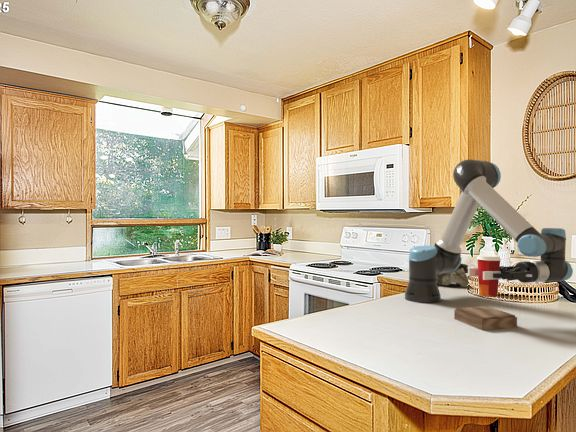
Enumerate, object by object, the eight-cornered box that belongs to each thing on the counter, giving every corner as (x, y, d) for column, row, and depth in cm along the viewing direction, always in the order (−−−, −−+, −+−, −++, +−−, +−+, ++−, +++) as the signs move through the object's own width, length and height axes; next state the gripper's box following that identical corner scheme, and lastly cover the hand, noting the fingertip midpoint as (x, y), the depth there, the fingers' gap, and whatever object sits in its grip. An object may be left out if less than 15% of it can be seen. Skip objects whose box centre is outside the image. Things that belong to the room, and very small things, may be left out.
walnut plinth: (482, 330, 131) (482, 318, 131) (454, 318, 145) (454, 307, 145) (516, 327, 135) (517, 315, 134) (486, 316, 148) (486, 305, 148)
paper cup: (500, 294, 140) (500, 254, 140) (501, 298, 133) (502, 257, 133) (475, 292, 143) (476, 253, 143) (475, 296, 136) (476, 255, 136)
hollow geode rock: (414, 292, 215) (413, 275, 205) (415, 273, 223) (414, 256, 214) (471, 294, 205) (472, 276, 195) (470, 274, 213) (471, 256, 203)
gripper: (554, 287, 133) (497, 290, 127) (509, 277, 152) (457, 279, 146) (555, 265, 133) (497, 267, 127) (509, 258, 152) (457, 259, 146)
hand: (476, 273), depth 137 cm, fingers closed on paper cup, 7 cm apart
